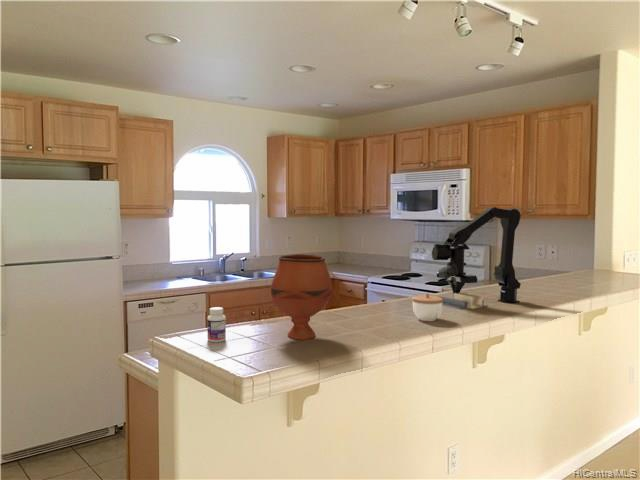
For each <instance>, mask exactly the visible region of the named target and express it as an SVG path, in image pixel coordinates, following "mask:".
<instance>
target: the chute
mask: <svg viewBox="0 0 640 480" xmlns="http://www.w3.org/2000/svg"><path fill="white" fill-rule="evenodd" d="M452 295H453V296H452V297H448V296H443V295H437V296H436V297H440V298H442V299H443V302H442V306H446V307H450V308H453V309H457V310H465V309H468V308H467V302H465V301H460V300H456V299H454V294H453V293H452ZM488 306H489V304H486V303H485V300H484V299H482V307H481V308H483V307H488Z"/></svg>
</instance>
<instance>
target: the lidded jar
mask: <svg viewBox="0 0 640 480" xmlns="http://www.w3.org/2000/svg"><path fill="white" fill-rule="evenodd" d="M411 299H412V311H413V313H414V315H415V317H417V318H418V320H419V321H421V322H424V321H425V322H434V321H436V320H437V319H438V317H440V316H441V313H442V310H443V305H442V302H443V299H442V298H440V297H437V296H436V295H430V293H429V292H428V293H426V294H425V295H423V294H422V295H415V296H413V297H412V298H411Z"/></svg>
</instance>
